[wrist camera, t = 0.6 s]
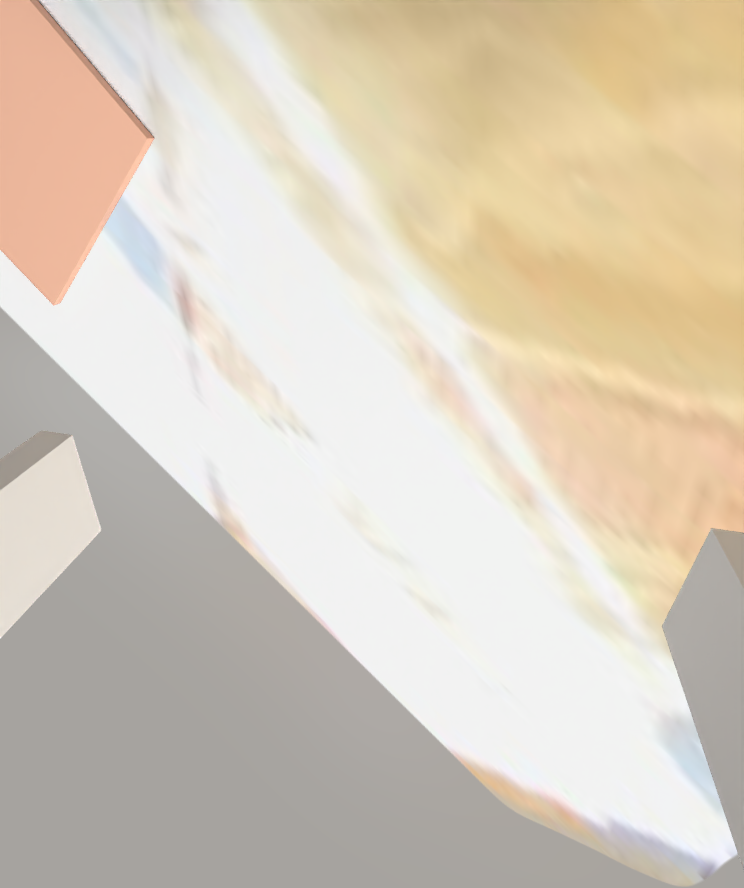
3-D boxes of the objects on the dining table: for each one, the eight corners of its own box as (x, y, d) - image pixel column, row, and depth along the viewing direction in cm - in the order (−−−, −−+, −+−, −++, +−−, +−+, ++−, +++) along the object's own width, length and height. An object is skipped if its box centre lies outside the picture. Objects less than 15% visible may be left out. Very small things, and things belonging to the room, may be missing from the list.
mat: (-35, -85, 28) (-46, -89, 28) (154, 138, 31) (147, 138, 30) (-89, 146, 38) (-98, 147, 37) (60, 303, 40) (53, 305, 40)
